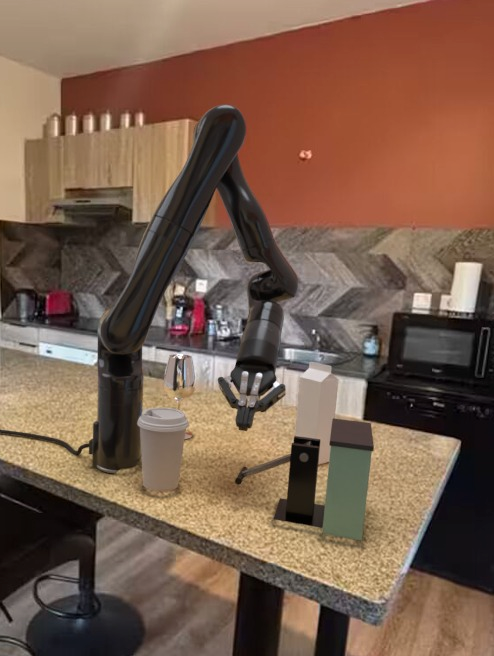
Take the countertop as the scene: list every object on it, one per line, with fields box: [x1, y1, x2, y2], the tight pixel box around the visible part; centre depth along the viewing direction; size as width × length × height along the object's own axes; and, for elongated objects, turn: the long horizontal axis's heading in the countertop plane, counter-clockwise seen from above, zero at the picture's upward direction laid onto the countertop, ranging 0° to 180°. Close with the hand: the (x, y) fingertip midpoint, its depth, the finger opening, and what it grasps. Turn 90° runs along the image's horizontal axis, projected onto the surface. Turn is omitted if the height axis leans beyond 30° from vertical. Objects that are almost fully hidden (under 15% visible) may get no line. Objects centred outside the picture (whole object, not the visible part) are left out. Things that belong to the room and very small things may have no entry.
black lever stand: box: [273, 435, 325, 529], centre depth 94 cm, size 8×9×14 cm
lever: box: [234, 441, 313, 486], centre depth 95 cm, size 14×6×2 cm, turn 72°
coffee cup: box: [137, 407, 190, 492], centre depth 103 cm, size 10×10×15 cm
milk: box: [294, 361, 340, 466], centre depth 122 cm, size 6×6×22 cm
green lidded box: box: [321, 418, 375, 541], centre depth 91 cm, size 6×13×17 cm, turn 163°
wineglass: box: [162, 353, 196, 440], centre depth 136 cm, size 8×8×20 cm
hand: (242, 428), depth 96 cm, fingers closed
